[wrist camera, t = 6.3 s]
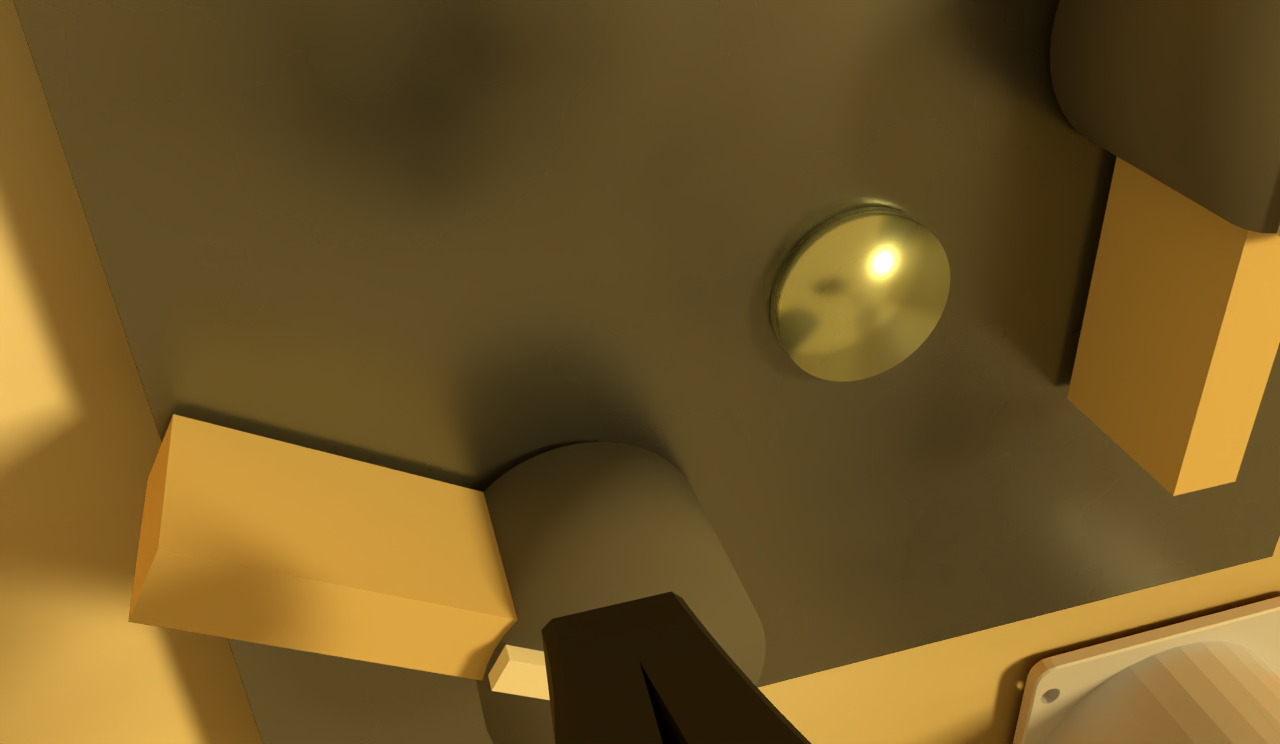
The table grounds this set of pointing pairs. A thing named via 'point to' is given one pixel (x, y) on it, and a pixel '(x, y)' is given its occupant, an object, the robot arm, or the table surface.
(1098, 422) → the knob
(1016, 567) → the levelling plate
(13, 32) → the table surface
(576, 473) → the knob
